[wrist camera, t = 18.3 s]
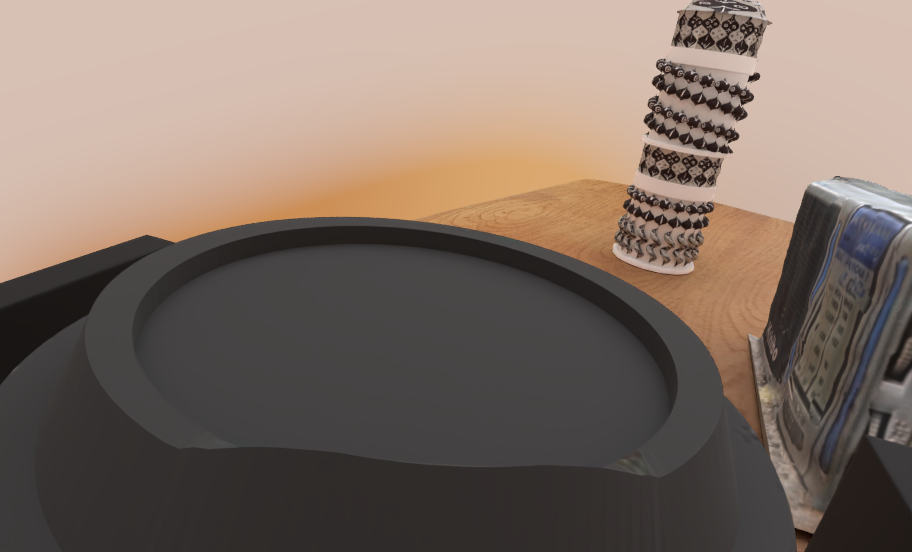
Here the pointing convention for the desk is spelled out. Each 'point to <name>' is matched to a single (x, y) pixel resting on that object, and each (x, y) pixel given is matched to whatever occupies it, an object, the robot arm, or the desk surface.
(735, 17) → the white patterned cylinder
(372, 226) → the coffee cup
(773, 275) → the desk surface
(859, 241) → the radio
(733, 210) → the desk surface
